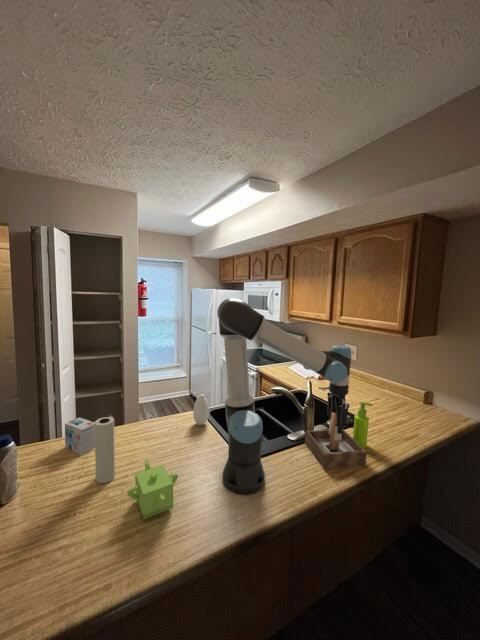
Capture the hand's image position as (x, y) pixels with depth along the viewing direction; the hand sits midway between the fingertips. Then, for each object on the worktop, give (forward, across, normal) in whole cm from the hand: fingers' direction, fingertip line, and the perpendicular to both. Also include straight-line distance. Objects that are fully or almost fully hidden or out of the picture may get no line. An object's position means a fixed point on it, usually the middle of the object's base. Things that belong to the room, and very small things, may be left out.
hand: (334, 436), depth 115 cm
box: (+8, 0, 0) cm, 8 cm away
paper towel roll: (+8, -4, +89) cm, 89 cm away
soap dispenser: (+8, +5, -16) cm, 19 cm away
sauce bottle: (+8, +31, +55) cm, 64 cm away
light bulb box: (+8, +16, +105) cm, 107 cm away
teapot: (+8, -19, +71) cm, 74 cm away
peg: (+4, 0, 0) cm, 4 cm away
